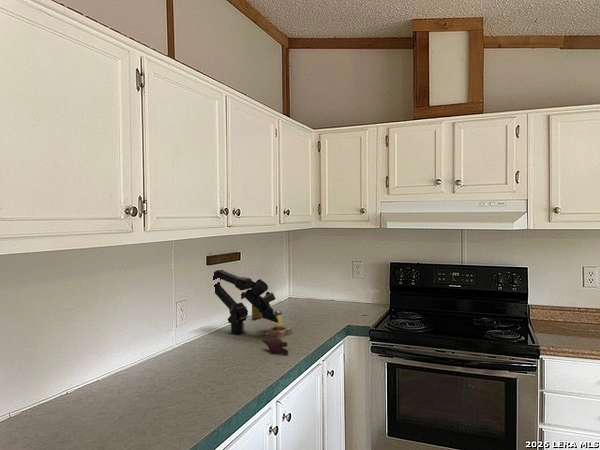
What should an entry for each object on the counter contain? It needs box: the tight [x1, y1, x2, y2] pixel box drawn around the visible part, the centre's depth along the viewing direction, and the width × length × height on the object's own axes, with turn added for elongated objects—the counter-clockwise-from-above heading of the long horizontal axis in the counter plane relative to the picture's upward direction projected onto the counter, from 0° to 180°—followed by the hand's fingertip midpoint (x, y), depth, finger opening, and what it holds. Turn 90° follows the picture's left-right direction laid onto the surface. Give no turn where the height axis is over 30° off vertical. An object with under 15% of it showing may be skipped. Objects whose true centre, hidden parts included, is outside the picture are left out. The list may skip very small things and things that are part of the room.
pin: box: [273, 310, 284, 331], centre depth 219 cm, size 4×4×12 cm
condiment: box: [248, 304, 263, 321], centre depth 252 cm, size 7×8×12 cm
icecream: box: [261, 336, 289, 355], centre depth 191 cm, size 7×7×15 cm
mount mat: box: [261, 325, 275, 331], centre depth 228 cm, size 9×9×1 cm
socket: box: [264, 325, 293, 338], centre depth 219 cm, size 10×10×3 cm
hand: (276, 319), depth 219 cm, fingers open, 9 cm apart
